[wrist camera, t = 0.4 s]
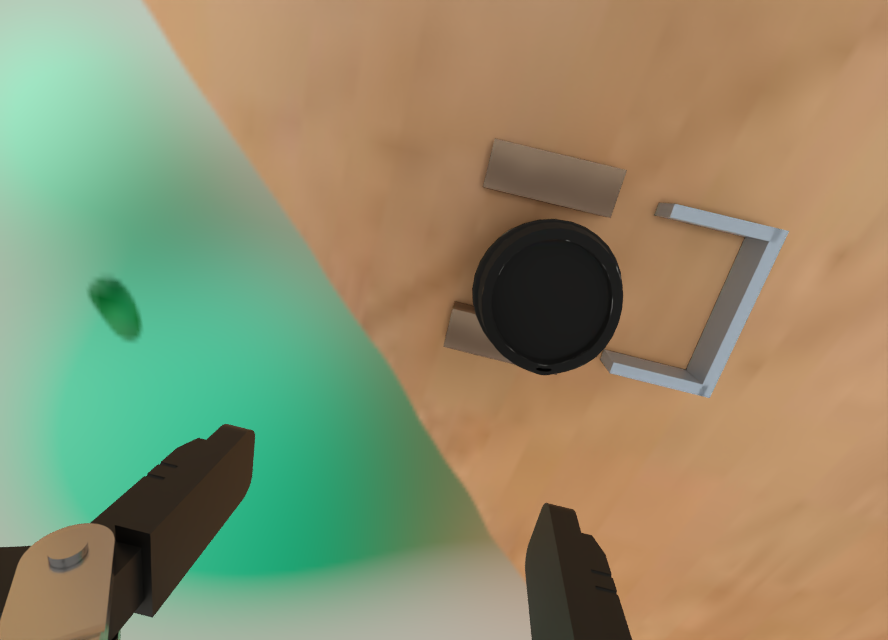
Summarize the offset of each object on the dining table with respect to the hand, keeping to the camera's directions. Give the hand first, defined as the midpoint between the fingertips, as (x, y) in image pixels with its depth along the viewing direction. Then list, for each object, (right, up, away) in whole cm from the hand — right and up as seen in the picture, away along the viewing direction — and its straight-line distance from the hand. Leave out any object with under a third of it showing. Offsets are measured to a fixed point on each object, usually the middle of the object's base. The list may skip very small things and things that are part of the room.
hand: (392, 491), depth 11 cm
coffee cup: (+8, +10, +25) cm, 28 cm away
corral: (+21, +7, +25) cm, 33 cm away
